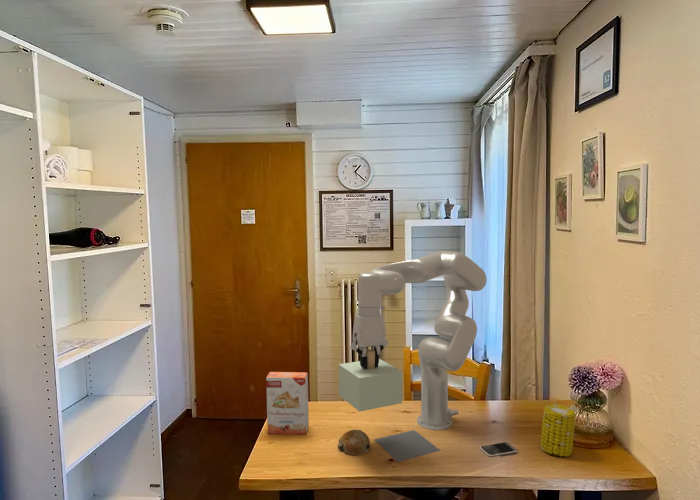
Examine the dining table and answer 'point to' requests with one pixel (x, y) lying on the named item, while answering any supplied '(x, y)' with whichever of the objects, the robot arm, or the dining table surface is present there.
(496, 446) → the cell phone
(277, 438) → the dining table surface
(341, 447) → the bread roll
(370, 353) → the pale green box
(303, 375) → the cracker box
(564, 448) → the food
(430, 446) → the mat
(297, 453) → the dining table surface
